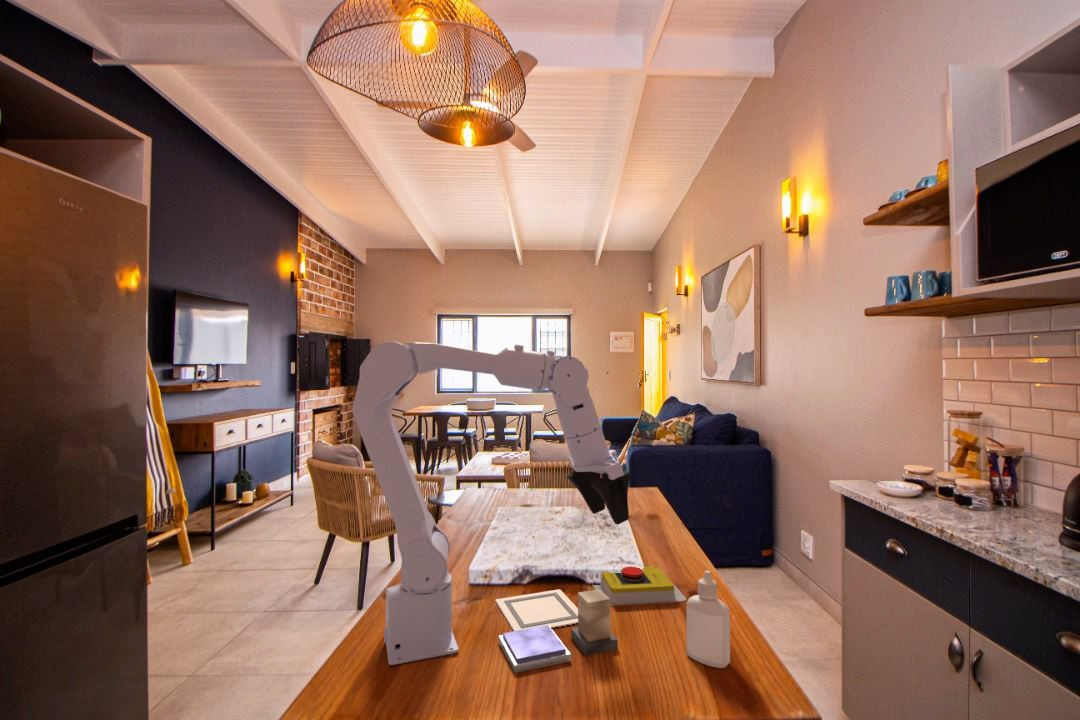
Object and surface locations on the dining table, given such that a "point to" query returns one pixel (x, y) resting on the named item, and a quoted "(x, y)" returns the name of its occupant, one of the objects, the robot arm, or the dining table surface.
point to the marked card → (538, 610)
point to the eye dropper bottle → (708, 625)
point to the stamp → (594, 624)
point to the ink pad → (533, 648)
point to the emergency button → (639, 587)
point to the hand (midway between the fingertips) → (610, 516)
